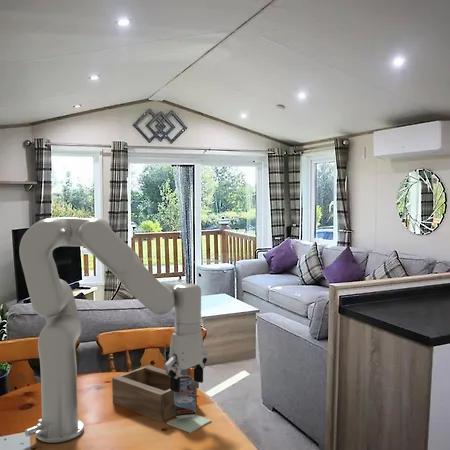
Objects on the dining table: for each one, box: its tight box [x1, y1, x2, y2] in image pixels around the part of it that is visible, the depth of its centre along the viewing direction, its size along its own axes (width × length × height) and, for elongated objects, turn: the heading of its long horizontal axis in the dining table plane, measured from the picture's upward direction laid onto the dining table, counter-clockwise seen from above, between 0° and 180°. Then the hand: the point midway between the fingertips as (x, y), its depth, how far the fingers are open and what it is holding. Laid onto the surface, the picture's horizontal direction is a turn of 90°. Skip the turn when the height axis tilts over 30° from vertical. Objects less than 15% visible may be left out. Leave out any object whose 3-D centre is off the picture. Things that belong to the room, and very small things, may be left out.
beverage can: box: [174, 375, 197, 419], centre depth 140 cm, size 6×7×12 cm
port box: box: [111, 364, 198, 423], centre depth 152 cm, size 15×22×8 cm
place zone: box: [166, 414, 212, 434], centre depth 139 cm, size 9×9×1 cm
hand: (187, 386), depth 138 cm, fingers open, 9 cm apart
